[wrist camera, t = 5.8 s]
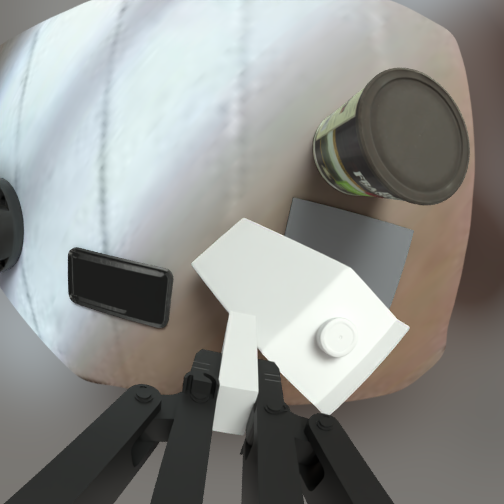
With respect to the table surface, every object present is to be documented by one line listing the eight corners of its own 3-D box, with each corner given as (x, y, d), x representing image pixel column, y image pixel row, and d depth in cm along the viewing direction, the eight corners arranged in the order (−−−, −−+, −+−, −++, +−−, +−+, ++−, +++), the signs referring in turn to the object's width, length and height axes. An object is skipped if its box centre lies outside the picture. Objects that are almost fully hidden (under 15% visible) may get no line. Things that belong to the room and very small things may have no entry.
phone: (68, 246, 31) (172, 272, 32) (72, 245, 32) (175, 269, 33) (68, 301, 33) (166, 330, 33) (72, 298, 34) (168, 326, 35)
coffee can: (384, 205, 31) (460, 221, 17) (304, 182, 30) (345, 181, 17) (399, 126, 29) (473, 102, 15) (321, 98, 28) (367, 46, 14)
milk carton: (276, 263, 32) (414, 352, 16) (229, 306, 31) (342, 429, 15) (243, 216, 29) (402, 291, 13) (189, 263, 28) (301, 399, 12)
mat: (261, 327, 34) (261, 328, 34) (293, 197, 31) (293, 197, 30) (374, 342, 35) (375, 344, 35) (412, 230, 31) (413, 230, 31)
